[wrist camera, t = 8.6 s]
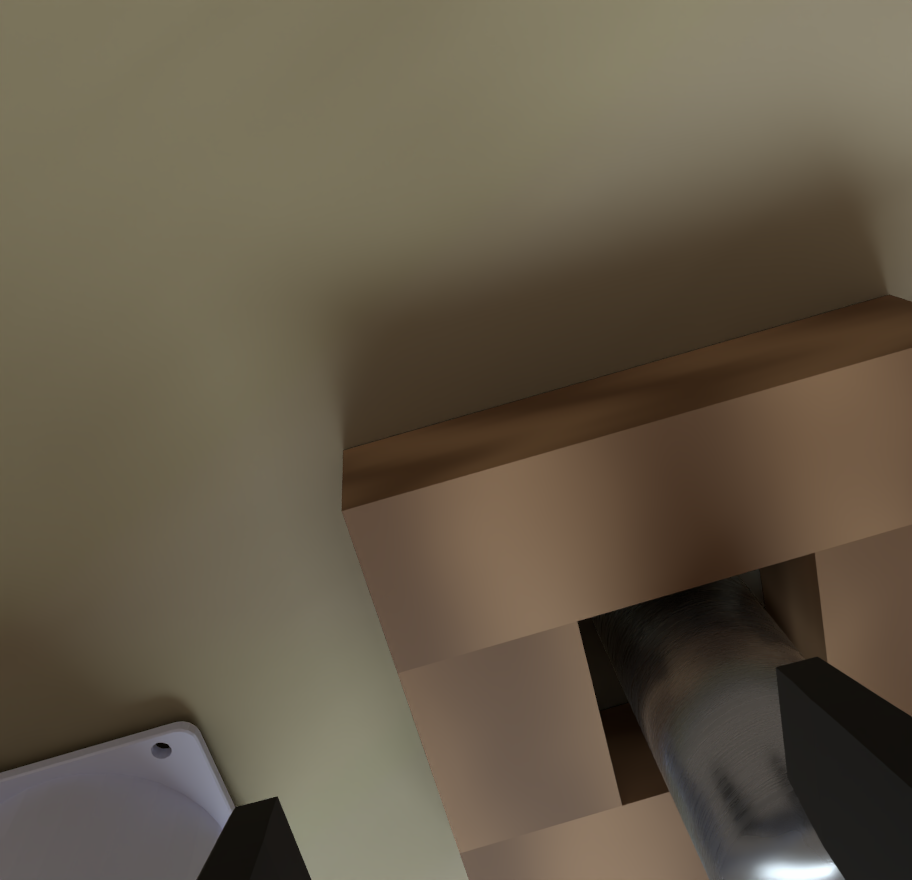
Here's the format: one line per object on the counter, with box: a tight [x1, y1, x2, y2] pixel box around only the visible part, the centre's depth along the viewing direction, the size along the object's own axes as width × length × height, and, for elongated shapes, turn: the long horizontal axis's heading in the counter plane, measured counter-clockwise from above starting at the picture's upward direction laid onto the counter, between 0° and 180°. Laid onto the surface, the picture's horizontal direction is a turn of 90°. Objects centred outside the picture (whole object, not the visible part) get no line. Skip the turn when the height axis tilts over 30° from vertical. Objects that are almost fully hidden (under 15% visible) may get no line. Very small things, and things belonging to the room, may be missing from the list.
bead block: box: [342, 295, 912, 880], centre depth 22 cm, size 14×14×4 cm
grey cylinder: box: [592, 575, 845, 880], centre depth 19 cm, size 4×4×9 cm
